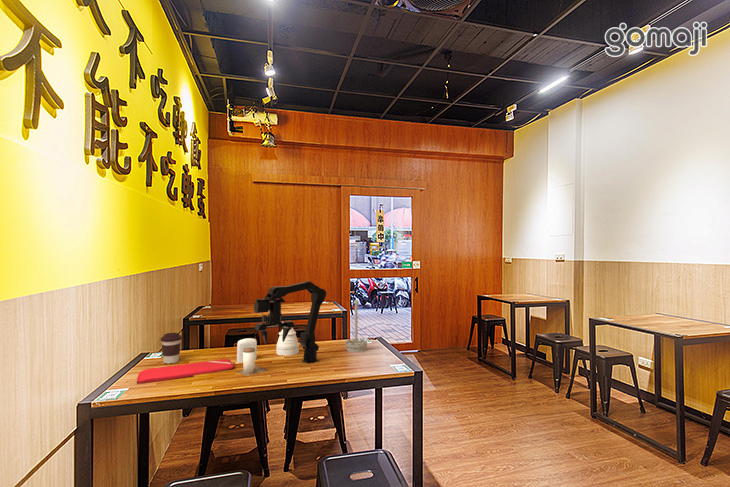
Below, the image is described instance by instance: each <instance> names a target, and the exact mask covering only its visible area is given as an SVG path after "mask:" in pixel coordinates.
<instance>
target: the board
mask: <svg viewBox="0 0 730 487" xmlns="http://www.w3.org/2000/svg"><path fill="white" fill-rule="evenodd" d="M267 371H269V369H267V368H264V367H261V366H257V365H255V372H253V373H249V374H245V373H243V369H241V370H238V371H237V370H236V371H235V372H236V373H238V374H241V375H243V376H246V377H249V376H252V375H256V374H260V373H264V372H267Z"/></svg>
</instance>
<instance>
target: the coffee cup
mask: <svg viewBox="0 0 730 487" xmlns="http://www.w3.org/2000/svg"><path fill="white" fill-rule="evenodd" d="M182 338H183V336H182V335H181V334H179V333H178V332H169V333H165V334H164V335H163V336H161V337H160V341H161V350H162V351H161V352H162V353H161V354H162V361H163V364H165V363H167V364H168V365H170V363H172V364H175V363H178V362H179V360H180V359H179V358H180V352H181V340H182Z"/></svg>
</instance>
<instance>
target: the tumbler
mask: <svg viewBox="0 0 730 487" xmlns="http://www.w3.org/2000/svg"><path fill="white" fill-rule="evenodd" d="M255 367H256V360H255V348H252V347H249V348H244V349H243V362H242V370H243V373H245V374H249V373H253V372H255Z"/></svg>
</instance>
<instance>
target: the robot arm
mask: <svg viewBox="0 0 730 487" xmlns="http://www.w3.org/2000/svg"><path fill="white" fill-rule="evenodd" d="M305 290H306V291H307V292H308V293H309V294H310V301H311V305H310V311H309V314H308V318H307V323H306V326H305V330H304V331H303V332H302V331H301V332H300V334H299V335H300V336H299V338H298V340H299V345H300V346H301V347H302V349H303V352H304V353H303V359H302V360H301V362H303V363H306V364H313V363H316V362H319V359H318V356H317V355H318V351H319V349H320V346H319V345H318V344H317V343H316V333H315V330H316V327H317V321H318V317H319V313H320V310H321V307H322V304H323V303H324V301H325V299H326V298H327V291H326V290H325V288H322V287H320V286H318V285H316V284H315V283H314V282H312V281H309V280H306V281H302V282H299V283H294V284H290V285H281V286H279V285H276V286H275V285H274V286H271V287H270V288H269V289H268V293H267V294H266V295H265V297H264V298H255V302H254V305H253V311H254V313H255V314H261V313H263V314H264V313H268V312H269V313H268V316H267V315H262V316H261V322H258V323H255V324H254V325H255V326H254V329H255V330H256V331H257V332H260V333H261V336H262V339H263V342H264V344H265V345H267V342H268V330H267V329H271V328H272V329H273V328H281V327H282V328H281V329H283V337H282V341H283V342H284V341H285V338H286V336H287V334H288V332H289V331H290V329H292V328H295V322H294V321H292V320H283V321H282V317H283V315H282V303H286V300H285V298H283V297H286V296H287V295H289V294H292V293H297V292H300V291H305ZM282 322H283V323H282Z"/></svg>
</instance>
